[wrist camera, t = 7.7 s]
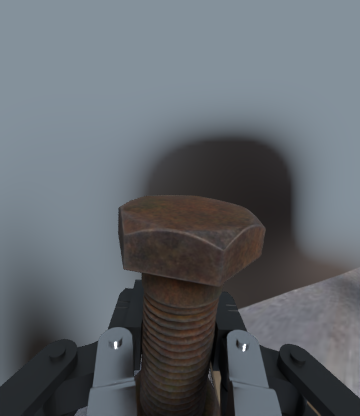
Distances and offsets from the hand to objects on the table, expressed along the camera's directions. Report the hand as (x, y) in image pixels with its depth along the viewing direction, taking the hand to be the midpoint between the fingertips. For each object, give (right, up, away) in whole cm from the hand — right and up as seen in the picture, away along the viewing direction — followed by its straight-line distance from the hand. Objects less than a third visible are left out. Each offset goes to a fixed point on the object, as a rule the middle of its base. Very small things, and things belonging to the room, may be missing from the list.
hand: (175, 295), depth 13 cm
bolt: (0, -10, 0) cm, 10 cm away
